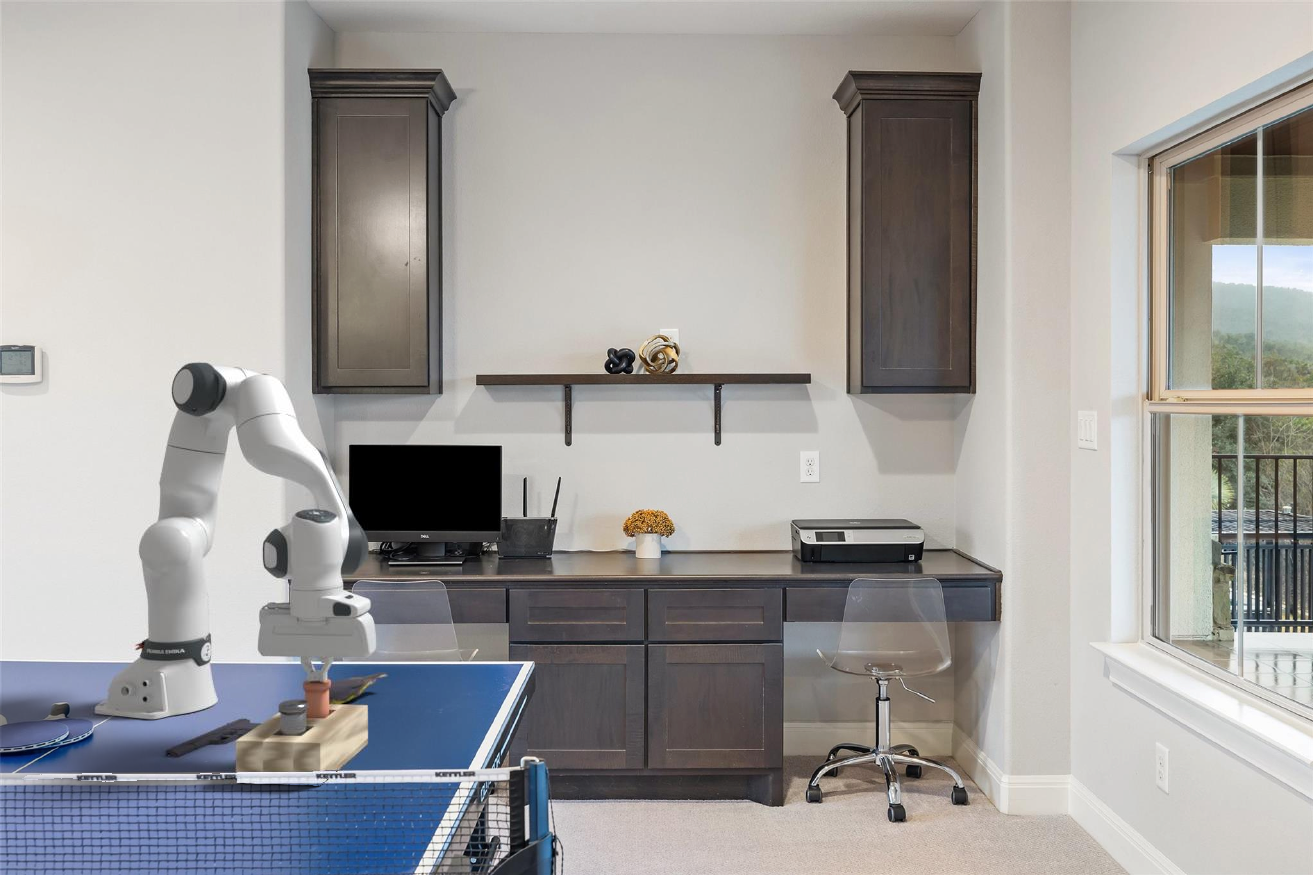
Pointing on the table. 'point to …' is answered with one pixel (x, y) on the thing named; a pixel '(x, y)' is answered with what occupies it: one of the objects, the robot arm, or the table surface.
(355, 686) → the bird model
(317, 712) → the rust plug
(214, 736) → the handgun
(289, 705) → the metal plug
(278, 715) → the beech block
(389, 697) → the table surface
